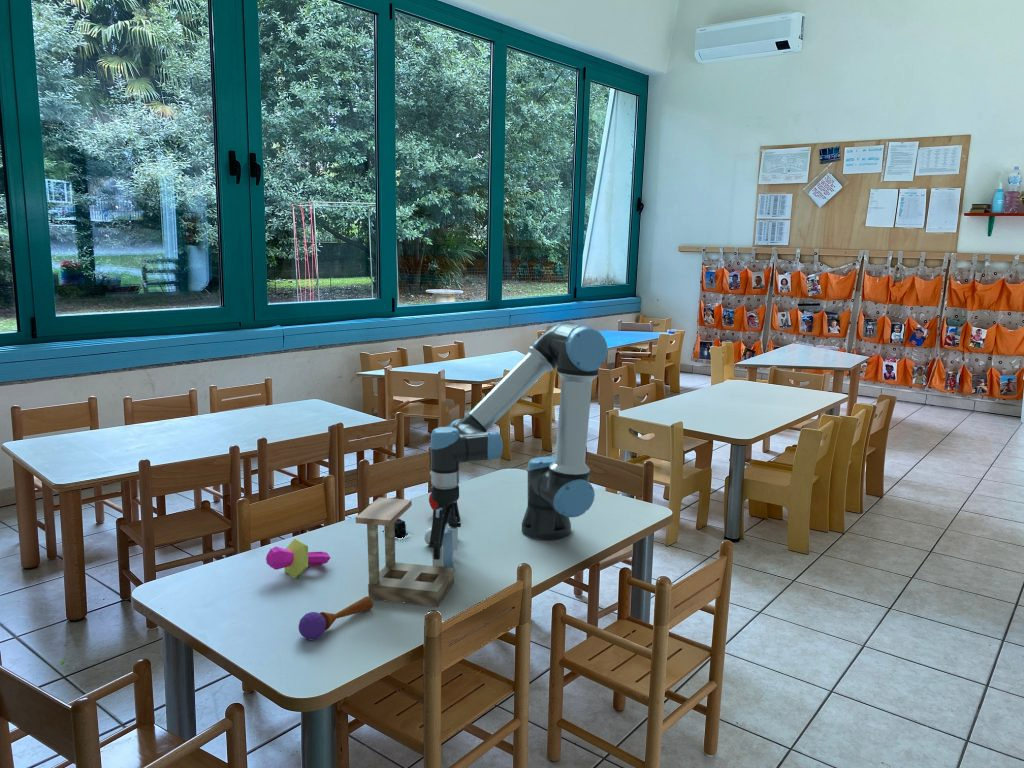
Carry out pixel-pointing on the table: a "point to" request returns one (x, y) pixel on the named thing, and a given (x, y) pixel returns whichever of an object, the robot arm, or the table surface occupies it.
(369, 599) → the kendama
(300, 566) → the toy
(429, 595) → the socket board
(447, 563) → the peg
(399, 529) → the black rounded block
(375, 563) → the awning
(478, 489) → the table surface
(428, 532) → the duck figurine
